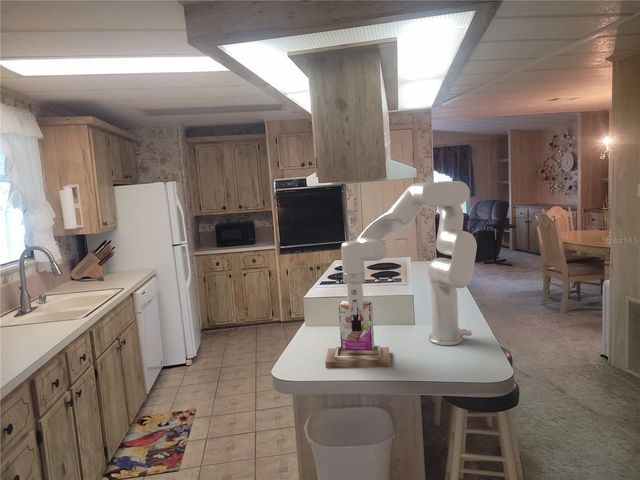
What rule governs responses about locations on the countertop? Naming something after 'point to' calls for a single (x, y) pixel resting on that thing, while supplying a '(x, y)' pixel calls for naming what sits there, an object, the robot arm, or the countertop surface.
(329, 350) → the walnut plinth
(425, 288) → the countertop surface
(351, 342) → the candy bar box
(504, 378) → the countertop surface
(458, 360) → the countertop surface
